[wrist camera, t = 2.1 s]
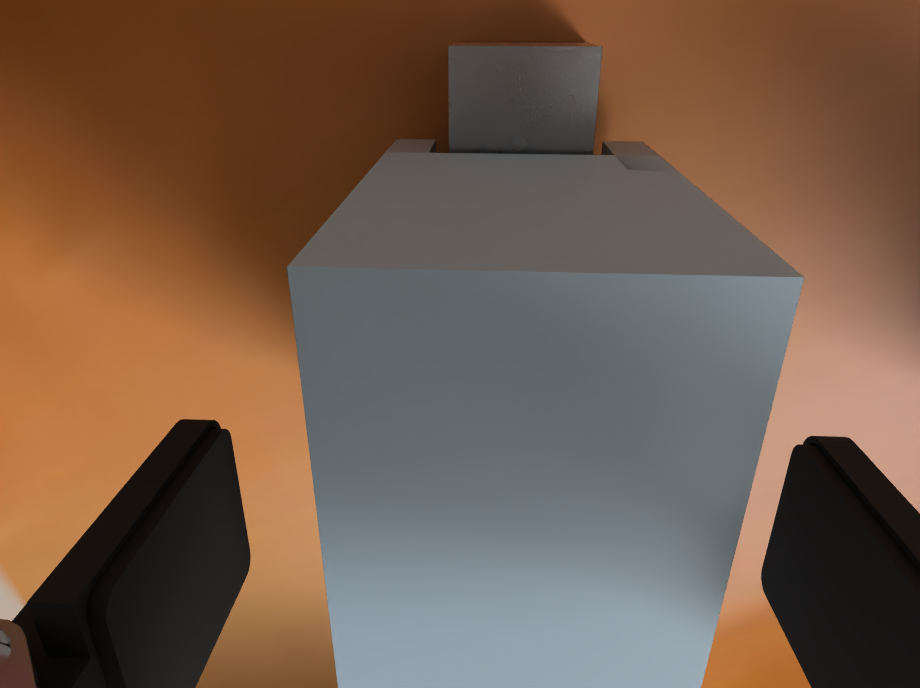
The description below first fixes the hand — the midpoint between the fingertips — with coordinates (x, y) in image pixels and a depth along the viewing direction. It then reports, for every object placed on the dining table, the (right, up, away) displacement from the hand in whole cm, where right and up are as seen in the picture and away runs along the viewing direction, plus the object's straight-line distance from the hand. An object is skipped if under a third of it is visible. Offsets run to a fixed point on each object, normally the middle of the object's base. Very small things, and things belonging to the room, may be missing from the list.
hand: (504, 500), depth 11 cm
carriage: (+1, +4, +6) cm, 7 cm away
